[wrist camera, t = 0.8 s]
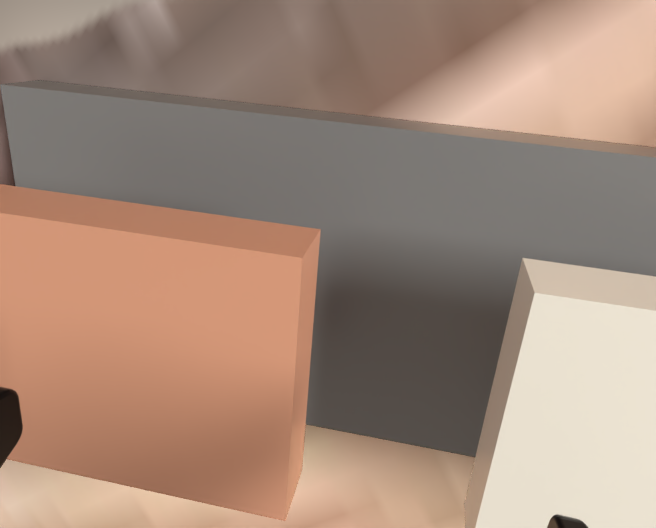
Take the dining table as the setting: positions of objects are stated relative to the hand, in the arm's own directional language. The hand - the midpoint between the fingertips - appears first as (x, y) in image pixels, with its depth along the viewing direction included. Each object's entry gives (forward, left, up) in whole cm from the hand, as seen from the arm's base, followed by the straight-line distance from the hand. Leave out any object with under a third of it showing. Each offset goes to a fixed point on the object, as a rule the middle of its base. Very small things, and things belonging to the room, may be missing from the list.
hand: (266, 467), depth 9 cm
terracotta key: (-2, +6, -8) cm, 10 cm away
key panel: (-2, -2, -13) cm, 13 cm away
